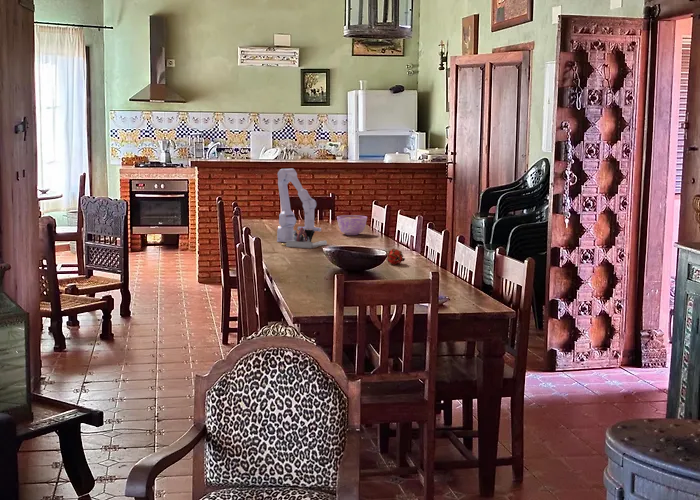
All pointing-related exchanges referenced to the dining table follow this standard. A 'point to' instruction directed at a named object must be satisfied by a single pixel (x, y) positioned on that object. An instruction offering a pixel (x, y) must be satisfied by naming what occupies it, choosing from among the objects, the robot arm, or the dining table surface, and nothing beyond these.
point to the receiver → (305, 244)
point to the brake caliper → (300, 236)
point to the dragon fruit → (395, 257)
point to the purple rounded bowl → (351, 224)
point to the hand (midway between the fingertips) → (309, 242)
